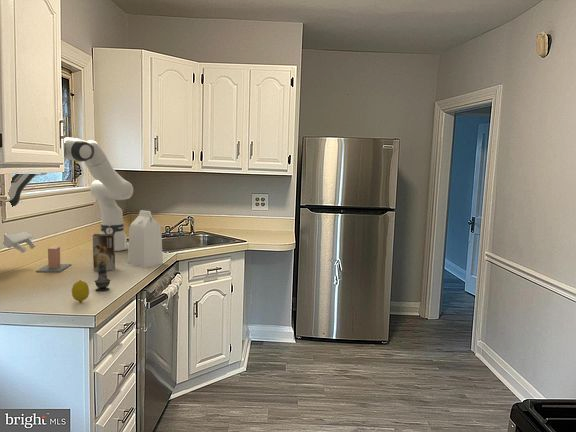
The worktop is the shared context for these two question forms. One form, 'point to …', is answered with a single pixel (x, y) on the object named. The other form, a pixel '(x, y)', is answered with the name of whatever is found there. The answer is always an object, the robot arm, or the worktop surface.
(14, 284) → the worktop surface
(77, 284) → the lemon
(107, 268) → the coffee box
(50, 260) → the stub
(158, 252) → the milk
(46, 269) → the mat
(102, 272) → the dark ornate vase
